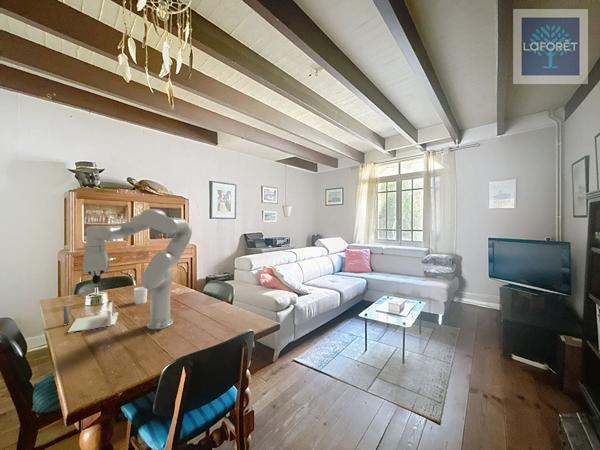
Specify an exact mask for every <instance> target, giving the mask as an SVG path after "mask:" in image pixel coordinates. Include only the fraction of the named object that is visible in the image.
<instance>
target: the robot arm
mask: <svg viewBox="0 0 600 450" xmlns="http://www.w3.org/2000/svg"><path fill="white" fill-rule="evenodd" d="M148 229H154V230H155V231H159V232H161V233H164V234H165V235H174V236H172V238H171V239H170V241H169V243H168V245H167V246H166V248H165V250H163V251H160V252H157V253H156V254H155V255H154V256H153V257H152V258H151V259H150V260H149V263H148V265H147V267H146V268H145V270H144V272H143V273H142V275H141V278H140V283H141V287H144V288H145V289H147V290H150V293H149V294H150V295H149V296H150V302H149V307H150V308H149V310H150V311H149V313H150V314H149V316H150V317H149V319H150V321H149V322H148V323H147V324H146V328H147V329H149V330H161V329H165V328H168V327H170V326H172V325H173V324H174V319H173V318H171V288H172V287H171V286H172V279H173V274H172V273H173V272H172V271H171V268H173V267H175V266H176V265H177V264H178V263H179V261H180V259H181V257H182V256H183V253H184V252H185V250H186V248H187V246H188V244H189V243H190V240H191V238H192V236H193V235H192V233H193V231H192V226H191V224H190V223H189V222H188V221H187V220H186V219H184V218H181V217H170V216H167V214H166V213H165V211H163V210H161V209H157V208H156V209H155V208H146V209H144V210H143V211H142V212H141V213H140V214H138V215H135V216H132V217H131V218H130V220H129V222H126V223H123V224H119V225H104V226H101V225H93V226H88V227H86V231H85V232H86V246H85V247H83V248H82V250H83V251H85V252H84V255H83V259H82V271H83V273H84V274H89V276H91V277H92V283H93V284H95V285H96V284H99V283H100V282H101V276H102V274H103V273H106V272H109V271H110V269H109V267H110V265H109V255H108V251H107V250H106V241H113V240H119V239H120V240H121V239H123V238H127V237H130V236H133V235H135V234H138V233H140V232H142V231H145V230H148Z"/></svg>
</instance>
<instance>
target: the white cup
mask: <svg viewBox="0 0 600 450" xmlns="http://www.w3.org/2000/svg"><path fill="white" fill-rule="evenodd" d="M133 297H134V304H135V305H143V304H146V303H147V300H148V299H147V298H148V289H145V288H144V287H143V286H139V287H138V286H137V287H135V288H133Z"/></svg>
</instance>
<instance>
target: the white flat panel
mask: <svg viewBox="0 0 600 450" xmlns="http://www.w3.org/2000/svg"><path fill="white" fill-rule="evenodd" d="M107 314H108V326H110V327H112V326H111V321H112V302H110V303H109V302H108V308H107Z"/></svg>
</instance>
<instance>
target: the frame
mask: <svg viewBox="0 0 600 450" xmlns="http://www.w3.org/2000/svg"><path fill="white" fill-rule="evenodd" d="M110 302H112V321H111V325H115V326H116V324H117V320H118V317H119V312H118V311H117V312H114V300H113V299H111V300H108V304H109V303H110ZM69 311H70V306H69V305H66V306H63V325H64V324H68V323H69V324H70V319H69V318H70V316H69V315H70V312H69ZM117 316H118V317H117ZM104 326H108V313H104V314H97V315H92V316H85V317H79V318H75V320H74V321H73V323H72V324H71V326H70V327H69V329H68V330H67V332H71V331H79V330H86V329H92V328H98V327H104ZM104 328H105V327H104Z"/></svg>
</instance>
